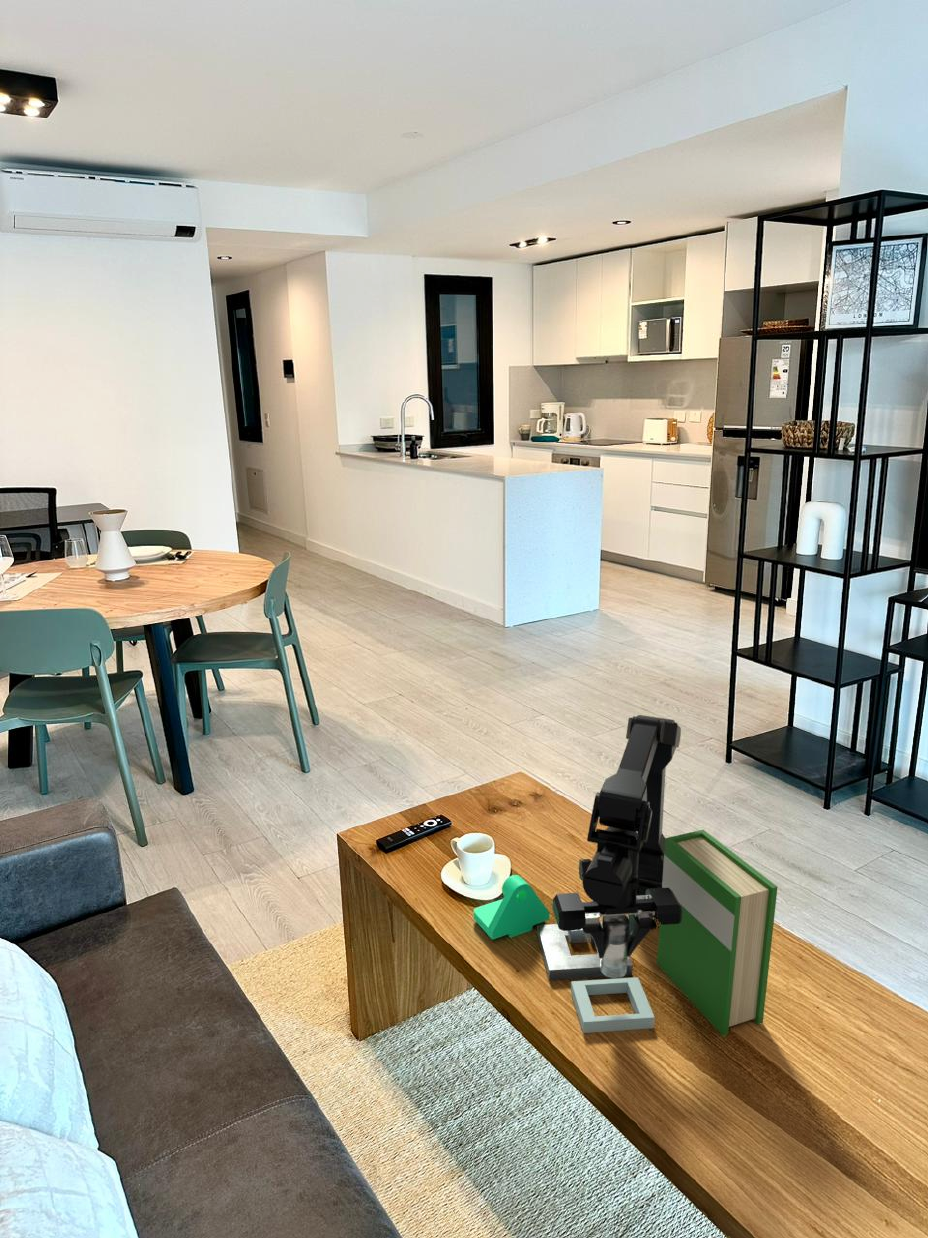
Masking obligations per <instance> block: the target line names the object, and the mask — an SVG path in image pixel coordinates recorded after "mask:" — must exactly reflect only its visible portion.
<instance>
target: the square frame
mask: <svg viewBox="0 0 928 1238" xmlns="http://www.w3.org/2000/svg"><path fill="white" fill-rule="evenodd" d="M570 993H571V997H572V1000H573V1003H574V1007H575V1011H576V1014H577V1016H578V1017H577V1018H578V1021H579V1023H580V1027H581V1030H582V1033H583V1034H588V1033H589V1034H590V1033H605V1032H615V1031H616V1032H619V1031H633V1030H635V1031H636V1030H646V1029H655V1019H656V1018H655V1015H654V1012H653V1010H652V1008H651V1005H650V1002H649V1001H648V998H647V996H646V993H645V991H644V988H643V985H642V984H641V981H640V979H639V977H635V976H634V977H621V978H608V979H607V978H606V979H605V978H604V979H590V980H577V981H576V980H574V981H570ZM611 994H613V995H614V994H627V996H628V1000H629V1001H630V1004H631V1006H632V1010H633V1012H634V1013H627V1014H626V1013H625V1014H615V1015H614V1014H613V1015H611V1014H610V1015H598V1016H596V1015H595V1012H594V1009H593V1007H592V1006H593V1005H592V1003H591V1000H590V997H589V996H598V995H611Z"/></svg>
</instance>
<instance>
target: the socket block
mask: <svg viewBox="0 0 928 1238" xmlns="http://www.w3.org/2000/svg"><path fill="white" fill-rule="evenodd" d="M600 924H601V926H602V921H600ZM536 927H537V928H536V936H537V940H538V943H539V947H540V952H541V954H542V958H543V959H542V960H543V962H544V965H545V969H546V973H547V977H548V981H561V980H562V981H563V980H576V979H577V980H578V979H591V978H592V979H594V978H595V979H596V978H608V977H607V976H605V975H604V974H603V973H602V972H601V970H600V964H601V959H600V958H599V955H598V953H591V954H577V955H575V954H574V955H573V954H571V951H570V947H569V941H570V940H569V935H568V932H567V931H562V930H560V929H559V928H558V925H557V923H552V924H549V923H548V924H536ZM587 939H588V940H589V943H590V945H591V944H595V943H594V940H593V938H592V936H591V934H588V936H587ZM633 967H634V965H633V962H632V960H631V956H630V957H627V970H626V974H625V975H624V976H625V977H627V976H633V971H634V970H633ZM624 976H623V977H624Z"/></svg>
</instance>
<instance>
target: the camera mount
mask: <svg viewBox="0 0 928 1238" xmlns="http://www.w3.org/2000/svg"><path fill="white" fill-rule="evenodd" d="M501 892H502V895H503V898H501V899H499V900H495V901H493V902H489V903H485V904H483V905H480V906H477V907H475V908H474V909H473V920H474V921H475V922H476V923H477V924H478V926H479V927H481V928H482V930H483V931H484V932H485V933H486V935H488V937H489V938H490V939H491V940H496V939H498V938H501V937H504V936H507V937H509V938H514V937H516V936H520V935H522V934H525V933H528V932H531V931H533V926H535V925H536V926H537V925H540V924H541V923H544V922H546V921H549V920H550V913H551V912H550V911H549V910H548V908H547V907H546V906H545V904H544V903H543V901H542V900H541V898H540V897H539V896H538V894H537V893H536V892H535V891H534V889H533V887H532V886H531V885H530V884H529V883H528V882H527V881H525V879H524V878H522V877H521V876H520V875H519V874H513V875H510V876H508V877H507V878H506V879H505V880H504V881H503V883H502V888H501Z"/></svg>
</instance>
